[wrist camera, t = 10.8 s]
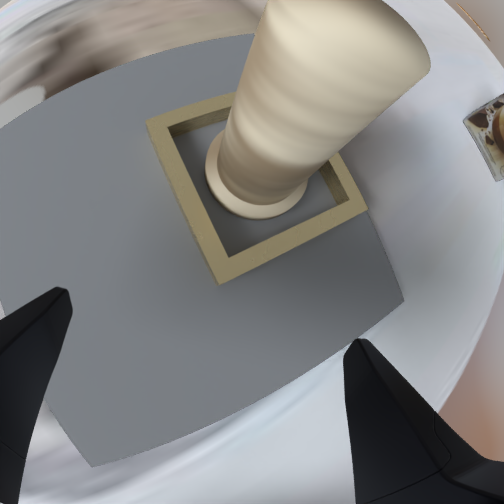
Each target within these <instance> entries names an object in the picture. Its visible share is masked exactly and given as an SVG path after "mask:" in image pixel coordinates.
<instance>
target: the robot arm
mask: <svg viewBox="0 0 504 504" xmlns="http://www.w3.org/2000/svg"><path fill="white" fill-rule="evenodd" d="M72 314H73V307H72V303H71V299H70V294H69V291H68V290H67V289H65V288H62V287H58V286H57V287H54V288H52V289H50V290H49V291H47V292H45V293H44V294H42V295H40V296H39V297H37V298H35V299H33V300H32V301H30V302H29V303H27V304H25V305H24V306H22V307H20V308H19V309H17V310H15V311H14V312H12V313H11V314H9V315H7V316H6V317H4V318H3V319H1V320H0V503H3V504H18V501H19V494H20V488H21V482H22V477H23V471H24V467H25V462H26V457H27V453H28V449H29V445H30V441H31V437H32V433H33V430H34V426H35V423H36V420H37V416H38V413H39V410H40V407H41V404H42V401H43V398H44V395H45V392H46V389H47V387H48V384H49V381H50V379H51V376H52V373H53V371H54V368H55V366H56V363H57V361H58V358H59V355H60V352H61V349H62V346H63V342H64V339H65V336H66V333H67V330H68V327H69V324H70V321H71V318H72ZM343 368H344V391H345V405H346V413H347V420H348V428H349V436H350V444H351V453H352V463H353V474H354V486H355V500H356V504H504V462H500V461H493V460H489V459H486V458H484V457H483V456H481V455H480V454H478V453H477V452H476V451H475V450H474V449H473V448H472V447H471V446H470V445H469V444H468V443H466V442H465V441H464V440H463V439H462V438H461V437H460V436H459V435H458V434H457V433H456V432H455V431H454V430H453V429H451V427H450V426H449V425H448V424H447V423H446V422H445V421H444V420H443V419H442V418H441V417H440V416H439V415H438V414H437V412H436V411H434V409H433V408H432V407H431V406H430V405H429V404H428V403H427V402H426V401H425V400H424V398H423V397H422V396H421V395H420V394H419V393H418V392H417V391H416V390H415V389H414V388H413V387H412V386H411V384H410V383H409V382H408V381H407V380H406V379H405V378H404V377H403V376H402V375H401V374H400V373H399V372H398V371H397V370H396V369H395V367H394V366H393V365H392V364H391V363H390V362H389V361H388V360H387V359H386V358H385V357H384V356H383V355H382V354H381V353H380V352H379V351H378V350H377V349H376V348H375V346H374V345H373V344H372V343H371V342H370V341H369V340H367V339H360V338H357V339H355V340H354V341H353V342H352V344H351V345H350V347H349V348H348V350H347V351H346V353H345V354H344V358H343Z"/></svg>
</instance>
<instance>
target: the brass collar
mask: <svg viewBox="0 0 504 504" xmlns="http://www.w3.org/2000/svg"><path fill="white" fill-rule="evenodd" d="M235 94H236V92H232V93H228V94H224V95H221V96H217V97H213V98H210V99H206V100H203V101H200V102H196V103H193V104H190V105H187V106H184V107H181V108H178V109H175V110H172V111H169V112H166V113H164V114H161V115H158V116H155V117H153V118H150V119H147V120H145V124H146V129H147V134H148V136H149V139H150V141H151V144H152V146H153V149H154V151H155V153H156V156H157V158H158V160H159V163H160V165H161V167H162V170H163V172H164V174H165V177H166V179H167V181H168V184H169V186H170V188H171V190H172V193H173V195H174V197H175V199H176V202H177V204H178V206H179V208H180V211H181V213H182V215H183V217H184V219H185V221H186V224H187V226H188V228H189V230H190V232H191V234H192V237H193V239H194V241H195V243H196V245H197V247H198V249H199V251H200V253H201V256H202V258H203V260H204V262H205V264H206V266H207V268H208V270H209V272H210V274H211V276H212V278H213V280H214V282H215V284H216V286H219V285H221V284H223V283H225V282H227V281H229V280H231V279H233V278H235V277H237V276H239V275H241V274H243V273H245V272H247V271H249V270H251V269H253V268H255V267H257V266H259V265H261V264H263V263H265V262H267V261H269V260H271V259H273V258H275V257H277V256H279V255H281V254H283V253H285V252H287V251H289V250H291V249H293V248H295V247H297V246H299V245H301V244H303V243H304V242H306V241H308V240H310V239H312V238H314V237H316V236H318V235H320V234H322V233H324V232H326V231H328V230H330V229H332V228H334V227H335V226H337V225H339V224H341V223H343V222H345V221H347V220H349V219H351V218H353V217H355V216H357V215H358V214H360V213H362V212H364V211H366V210H368V207H367V205H366V203H365V201H364V199H363V197H362V195H361V193H360V191H359V189H358V187H357V185H356V183H355V182H354V180H353V178H352V176H351V174H350V172H349V170H348V169H347V167H346V165H345V163H344V161H343V160H342V158H341V156H340V154H339V153H338V152H337V153H336V154H335V155H334V156H333V157H331V158H330V159H329V160H328V161H327V162H326V163H325V164H324V165H322V166H321V167H320V168H319V169H318V170H319V172H320V174H321V175H322V177H323V179H324V181H325V183H326V185H327V187H328V188H329V190H330V192H331V194H332V196H333V198H334V200H335V202H336V204H337V206H336V207H334V208H332V209H330V210H328V211H326V212H323V213H321V214H319V215H317V216H315V217H313V218H311V219H309V220H307V221H305V222H303V223H300V224H298V225H296V226H294V227H292V228H290V229H288V230H286V231H284V232H282V233H280V234H277V235H275V236H273V237H271V238H269V239H267V240H265V241H263V242H261V243H259V244H257V245H255V246H252V247H250V248H248V249H246V250H244V251H242V252H240V253H238V254H236V255H234V256H232V257H230V258H228V255H227V253H226V251H225V249H224V247H223V245H222V243H221V241H220V239H219V237H218V235H217V233H216V231H215V229H214V227H213V225H212V222H211V220H210V218H209V216H208V214H207V212H206V210H205V208H204V206H203V204H202V201H201V199H200V197H199V195H198V193H197V191H196V189H195V187H194V185H193V182H192V180H191V178H190V176H189V174H188V172H187V170H186V167H185V165H184V163H183V161H182V159H181V157H180V154H179V152H178V150H177V148H176V146H175V143H174V141H173V139H172V138H175V137H177V136H180V135H183V134H185V133H188V132H191V131H194V130H197V129H200V128H203V127H206V126H209V125H212V124H215V123H218V122H221V121H224V120H227V119H228V117H229V114H230V110H231V107H232V104H233V100H234V97H235Z"/></svg>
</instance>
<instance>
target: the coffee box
mask: <svg viewBox="0 0 504 504" xmlns="http://www.w3.org/2000/svg"><path fill="white" fill-rule="evenodd" d="M463 122H464V124H465V125H466V127H467V129H468V130H469V132H470V134H471V135H472V137H473V139H474V140H475V142H476V144H477V146H478V148H479V149H480V151H481V153H482V155H483V157H484V159H485V161H486V163H487V165H488V167H489V169H490V171H491V173H492V175H493V177H494V179H495V181H496V182H497V181H500V180H502V179H504V93H503V94H502V95H500V96H498V97H497V98H495V99H493V100H491V101H490V102H488V103H486V104H485V105H483V106H481V107H480V108H478V109H476V110H475V111H473V112H472V113H471V114H470V115H468V116H467V117H466V118H465V119H464V120H463Z"/></svg>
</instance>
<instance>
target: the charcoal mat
mask: <svg viewBox="0 0 504 504" xmlns="http://www.w3.org/2000/svg"><path fill="white" fill-rule="evenodd" d="M254 36H255V35H254V33H253V34H245V35H238V36H231V37H225V38H219V39H214V40H209V41H204V42H199V43H194V44H190V45H186V46H182V47H178V48H174V49H170V50H166V51H163V52H159V53H156V54H153V55H149V56H146V57H143V58H140V59H137V60H134V61H131V62H128V63H126V64H123V65H120V66H118V67H115V68H112V69H110V70H107V71H105V72H102V73H100V74H98V75H95V76H93V77H91V78H89V79H86V80H84V81H82V82H80V83H78V84H76V85H73V86H71V87H69V88H67V89H65V90H63V91H62V92H60V93H58V94H56V95H54V96H52V97H50V98H48V99H47V100H45V101H43V102H41V103H40V104H38V105H36V106H34V107H33V108H31V109H29V110H28V111H26V112H25V113H23V114H22V115H20V116H18V117H17V118H16V119H14V120H12V121H11V122H9V123H8V124H6V125H5V126H4V127H2V128H1V129H0V301H1V304H2V307H3V310H4V313H5V315H6V316H7V315H9V314H11V313H12V312H14V311H15V310H17V309H19V308H20V307H22V306H24V305H25V304H27V303H29V302H30V301H32V300H33V299H35V298H37V297H39V296H40V295H42V294H44V293H45V292H47V291H49V290H50V289H52V288H54V287H57V286H58V287H62V288H65V289H67V290H68V291H69V294H70V299H71V303H72V307H73V314H72V318H71V321H70V324H69V327H68V330H67V333H66V336H65V339H64V342H63V346H62V349H61V352H60V355H59V358H58V361H57V363H56V366H55V368H54V371H53V373H52V376H51V379H50V381H49V384H48V387H47V389H46V392H45V395H44V400H45V401H46V403H47V405H48V406H49V408H50V410H51V411H52V413H53V415H54V416H55V418H56V419H57V421H58V422H59V424H60V425H61V427H62V428H63V430H64V431H65V433H66V434H67V436H68V437H69V439H70V440H71V441H72V443H73V444H74V445H75V447H76V448H77V449H78V451H79V452H80V453H81V455H82V456H83V457H84V459H85V460H86V461H87V462H88V464H89V465H90V466H91V467H96V466H100V465H103V464H107V463H110V462H114V461H117V460H120V459H123V458H127V457H130V456H133V455H136V454H139V453H142V452H144V451H147V450H150V449H153V448H155V447H158V446H161V445H163V444H166V443H169V442H171V441H174V440H176V439H178V438H181V437H183V436H186V435H188V434H190V433H193V432H195V431H197V430H200V429H202V428H204V427H206V426H208V425H211V424H213V423H215V422H217V421H219V420H221V419H223V418H225V417H227V416H229V415H231V414H233V413H235V412H237V411H239V410H241V409H243V408H245V407H247V406H249V405H251V404H253V403H255V402H256V401H258V400H260V399H262V398H264V397H266V396H267V395H269V394H271V393H273V392H274V391H276V390H278V389H280V388H281V387H283V386H285V385H286V384H288V383H290V382H291V381H293V380H295V379H296V378H298V377H300V376H301V375H303V374H305V373H306V372H308V371H309V370H311V369H312V368H314V367H316V366H317V365H319V364H320V363H322V362H323V361H325V360H326V359H328V358H329V357H331V356H332V355H334V354H335V353H337V352H338V351H339V350H341V349H342V348H344V347H345V346H347V345H348V344H349V343H351V342H352V341H354V340H355V339H356V338H358V337H359V336H360V335H362V334H363V333H364V332H366V331H367V330H368V329H370V328H371V327H372V326H374V325H375V324H376V323H378V322H379V321H380V320H381V319H383V318H384V317H385V316H386V315H388V314H389V313H390V312H391V311H393V310H394V309H395V308H396V307H398V306H399V305H400V304H401V303H402V302H404V298H403V296H402V293H401V290H400V288H399V285H398V282H397V280H396V277H395V275H394V272H393V270H392V267H391V265H390V262H389V260H388V258H387V255H386V253H385V251H384V248H383V246H382V244H381V241H380V239H379V237H378V235H377V233H376V230H375V228H374V226H373V224H372V222H371V220H370V218H369V215H368V213H367V211H364V212H362V213H360V214H358V215H357V216H355V217H353V218H351V219H349V220H347V221H345V222H343V223H341V224H339V225H337V226H335V227H334V228H332V229H330V230H328V231H326V232H324V233H322V234H320V235H318V236H316V237H314V238H312V239H310V240H308V241H306V242H304V243H303V244H301V245H299V246H297V247H295V248H293V249H291V250H289V251H287V252H285V253H283V254H281V255H279V256H277V257H275V258H273V259H271V260H269V261H267V262H265V263H263V264H261V265H259V266H257V267H255V268H253V269H251V270H249V271H247V272H245V273H243V274H241V275H239V276H237V277H235V278H233V279H231V280H229V281H227V282H225V283H223V284H221V285H219V286H216V284H215V282H214V280H213V278H212V276H211V274H210V272H209V270H208V268H207V266H206V264H205V262H204V260H203V258H202V256H201V253H200V251H199V249H198V247H197V245H196V243H195V241H194V239H193V237H192V234H191V232H190V230H189V228H188V226H187V224H186V221H185V219H184V217H183V215H182V213H181V211H180V208H179V206H178V204H177V202H176V199H175V197H174V195H173V193H172V190H171V188H170V186H169V184H168V181H167V179H166V177H165V174H164V172H163V170H162V167H161V165H160V163H159V160H158V158H157V156H156V153H155V151H154V149H153V146H152V144H151V141H150V139H149V136H148V134H147V129H146V124H145V120H147V119H150V118H153V117H155V116H158V115H161V114H164V113H166V112H169V111H172V110H175V109H178V108H181V107H184V106H187V105H190V104H193V103H196V102H200V101H203V100H206V99H210V98H213V97H217V96H221V95H224V94H228V93H232V92H236V91H237V87H238V84H239V81H240V78H241V75H242V72H243V69H244V66H245V63H246V60H247V57H248V54H249V51H250V48H251V45H252V42H253V39H254ZM227 120H228V119H227ZM227 120H224V121H221V122H218V123H215V124H212V125H209V126H206V127H203V128H200V129H197V130H194V131H191V132H188V133H185V134H183V135H180V136H177V137H175V138H172V139H173V141H174V143H175V146H176V148H177V150H178V152H179V154H180V157H181V159H182V161H183V163H184V165H185V167H186V170H187V172H188V174H189V176H190V178H191V180H192V182H193V185H194V187H195V189H196V191H197V193H198V195H199V197H200V199H201V201H202V204H203V206H204V208H205V210H206V212H207V214H208V216H209V218H210V220H211V222H212V225H213V227H214V229H215V231H216V233H217V235H218V237H219V239H220V241H221V243H222V245H223V247H224V249H225V251H226V253H227V255H228V258H230V257H232V256H234V255H236V254H238V253H240V252H242V251H244V250H246V249H248V248H250V247H252V246H255V245H257V244H259V243H261V242H263V241H265V240H267V239H269V238H271V237H273V236H275V235H277V234H280V233H282V232H284V231H286V230H288V229H290V228H292V227H294V226H296V225H298V224H300V223H303V222H305V221H307V220H309V219H311V218H313V217H315V216H317V215H319V214H321V213H323V212H326V211H328V210H330V209H332V208H334V207H336V206H337V204H336V202H335V200H334V198H333V196H332V194H331V192H330V190H329V188H328V187H327V185H326V183H325V181H324V179H323V177H322V175H321V174H320V172H319V170H317V171H316V172H315V173H314V174H312V175H311V176H310V177H309V178H308V183H307V187H306V190H305V192H304V194H303V196H302V197H301V199H300V200H299V201H298V202H297V203H296V204H295V205H294V206H293V207H292V208H290V209H289V210H288V211H286V212H285V213H283V214H282V215H280V216H278V217H276V218H272V219H269V220H260V221H256V220H248V219H243V218H241V217H238V216H235V215H233V214H231V213H230V212H228V211H227V210H225V209H224V208H223V207H222V206H220V205H219V204H218V202H217V201H216V200H215V199H214V198H213V196H212V195H211V193H210V191H209V189H208V186H207V184H206V180H205V170H204V169H205V161H206V156H207V152H208V149H209V147H210V144H211V143H212V141H213V140H214V138H215V137H216V136H217V135H218V134H219V133H220V132H221V131H223V130H224V129H225V127H226V124H227Z"/></svg>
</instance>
